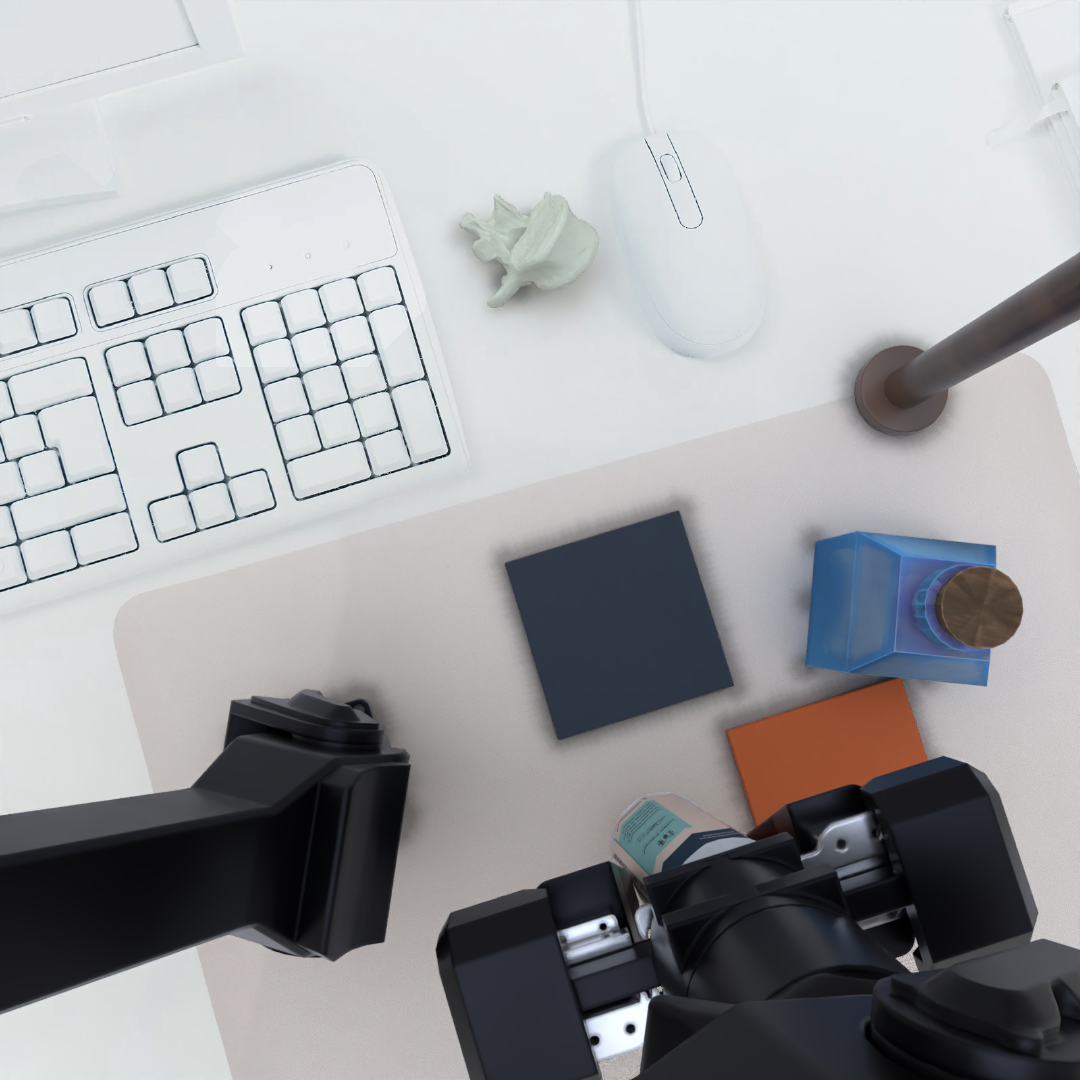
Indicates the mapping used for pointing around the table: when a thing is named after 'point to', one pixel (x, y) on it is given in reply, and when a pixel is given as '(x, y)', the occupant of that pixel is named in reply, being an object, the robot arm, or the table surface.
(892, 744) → the terracotta mat
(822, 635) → the perfume bottle
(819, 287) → the table surface
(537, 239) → the vertebra
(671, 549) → the slate mat
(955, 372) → the marker post
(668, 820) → the beer can
